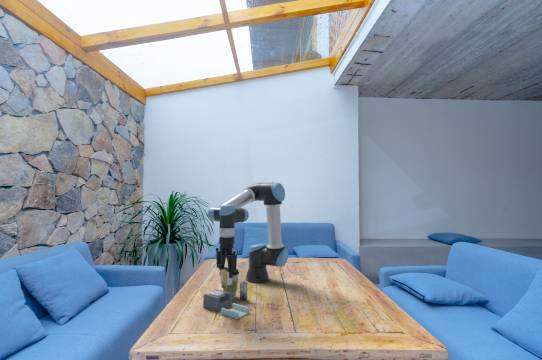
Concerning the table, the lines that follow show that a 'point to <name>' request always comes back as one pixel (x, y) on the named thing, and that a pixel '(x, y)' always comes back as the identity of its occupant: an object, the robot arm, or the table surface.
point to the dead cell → (243, 291)
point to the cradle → (217, 301)
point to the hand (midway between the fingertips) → (226, 283)
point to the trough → (236, 311)
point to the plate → (218, 293)
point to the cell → (224, 278)
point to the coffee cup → (233, 284)
